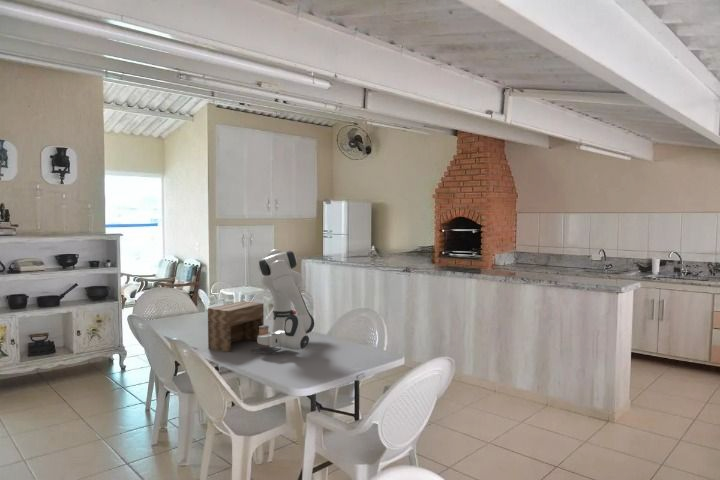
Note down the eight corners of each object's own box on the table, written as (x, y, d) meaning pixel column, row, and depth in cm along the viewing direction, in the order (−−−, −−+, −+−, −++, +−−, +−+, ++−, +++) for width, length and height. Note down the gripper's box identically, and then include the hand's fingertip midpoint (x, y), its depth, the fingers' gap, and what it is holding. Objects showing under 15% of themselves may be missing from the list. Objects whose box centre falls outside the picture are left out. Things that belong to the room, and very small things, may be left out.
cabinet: (263, 341, 305) (263, 303, 303) (228, 352, 281) (228, 311, 280) (243, 337, 313) (243, 300, 312) (208, 348, 289) (207, 308, 288)
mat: (281, 348, 288) (281, 348, 288) (266, 354, 277) (266, 353, 277) (264, 345, 294) (264, 345, 294) (250, 350, 284) (250, 350, 284)
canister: (267, 344, 289) (267, 325, 289) (269, 346, 284) (269, 326, 284) (258, 345, 287) (258, 325, 287) (260, 347, 282) (260, 327, 282)
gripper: (294, 328, 287) (275, 326, 295) (269, 336, 270) (249, 333, 277) (294, 340, 288) (275, 336, 295) (269, 348, 270) (250, 344, 278)
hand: (262, 335), depth 286 cm, fingers closed on canister, 5 cm apart
